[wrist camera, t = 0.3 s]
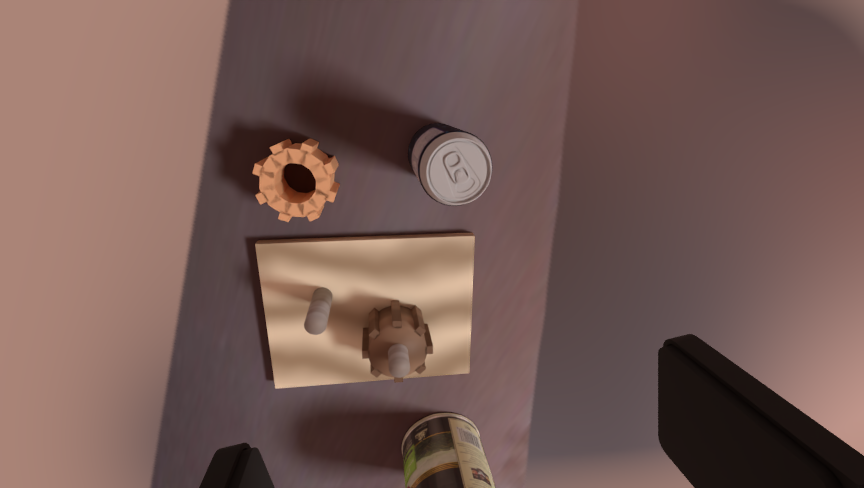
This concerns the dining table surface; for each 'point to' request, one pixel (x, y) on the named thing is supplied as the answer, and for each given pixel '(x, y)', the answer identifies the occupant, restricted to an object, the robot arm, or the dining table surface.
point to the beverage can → (450, 164)
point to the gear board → (367, 307)
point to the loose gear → (283, 195)
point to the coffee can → (445, 454)
